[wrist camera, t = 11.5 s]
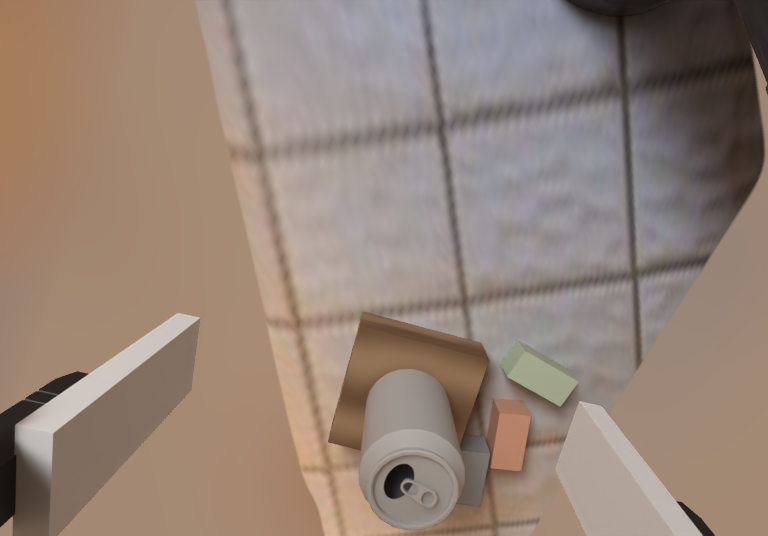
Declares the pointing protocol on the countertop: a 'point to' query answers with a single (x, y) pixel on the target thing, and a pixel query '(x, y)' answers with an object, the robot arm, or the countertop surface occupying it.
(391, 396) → the can
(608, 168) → the countertop surface
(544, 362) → the brick sage
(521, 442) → the brick terracotta
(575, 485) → the robot arm
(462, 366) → the walnut block
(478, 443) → the brick slate
